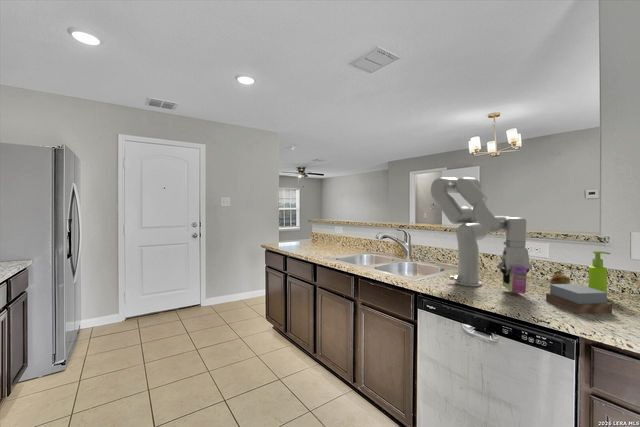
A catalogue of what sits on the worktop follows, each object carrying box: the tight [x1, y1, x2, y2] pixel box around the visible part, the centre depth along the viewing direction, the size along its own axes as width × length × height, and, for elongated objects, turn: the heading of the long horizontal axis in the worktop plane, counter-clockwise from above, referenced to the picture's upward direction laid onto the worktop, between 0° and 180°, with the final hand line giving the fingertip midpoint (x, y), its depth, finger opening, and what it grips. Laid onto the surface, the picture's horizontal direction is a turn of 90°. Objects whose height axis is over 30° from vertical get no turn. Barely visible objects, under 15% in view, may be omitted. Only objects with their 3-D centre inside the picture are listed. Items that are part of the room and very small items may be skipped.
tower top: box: [549, 283, 608, 304], centre depth 117 cm, size 11×13×4 cm
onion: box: [549, 270, 571, 284], centre depth 145 cm, size 8×8×8 cm
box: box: [501, 266, 528, 294], centre depth 135 cm, size 10×6×12 cm, turn 169°
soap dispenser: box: [587, 250, 612, 294], centre depth 128 cm, size 6×7×20 cm
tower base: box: [545, 292, 613, 315], centre depth 117 cm, size 13×15×4 cm
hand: (513, 282), depth 136 cm, fingers closed on box, 6 cm apart
